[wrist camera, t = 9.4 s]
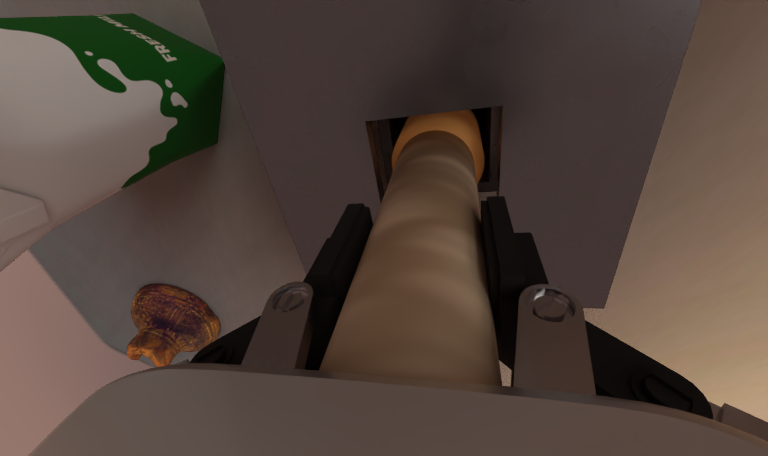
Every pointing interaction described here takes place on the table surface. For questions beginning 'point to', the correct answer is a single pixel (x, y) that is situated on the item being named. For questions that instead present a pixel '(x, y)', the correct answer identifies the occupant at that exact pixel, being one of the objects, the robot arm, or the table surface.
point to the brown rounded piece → (170, 323)
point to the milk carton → (93, 114)
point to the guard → (463, 107)
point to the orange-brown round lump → (451, 122)
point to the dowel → (422, 276)
